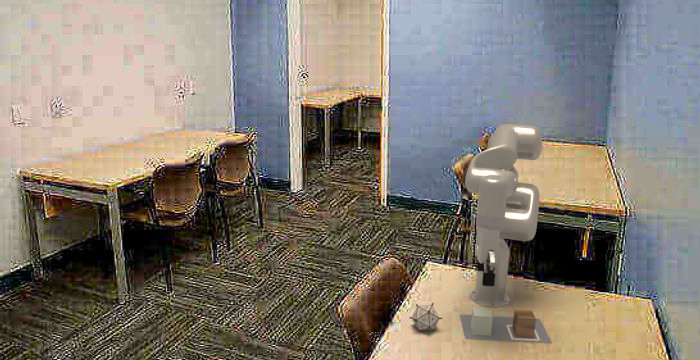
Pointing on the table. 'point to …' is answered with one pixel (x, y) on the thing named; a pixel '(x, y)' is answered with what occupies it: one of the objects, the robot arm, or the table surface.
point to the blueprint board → (504, 331)
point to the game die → (425, 317)
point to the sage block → (481, 321)
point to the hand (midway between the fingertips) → (485, 278)
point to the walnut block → (524, 323)
